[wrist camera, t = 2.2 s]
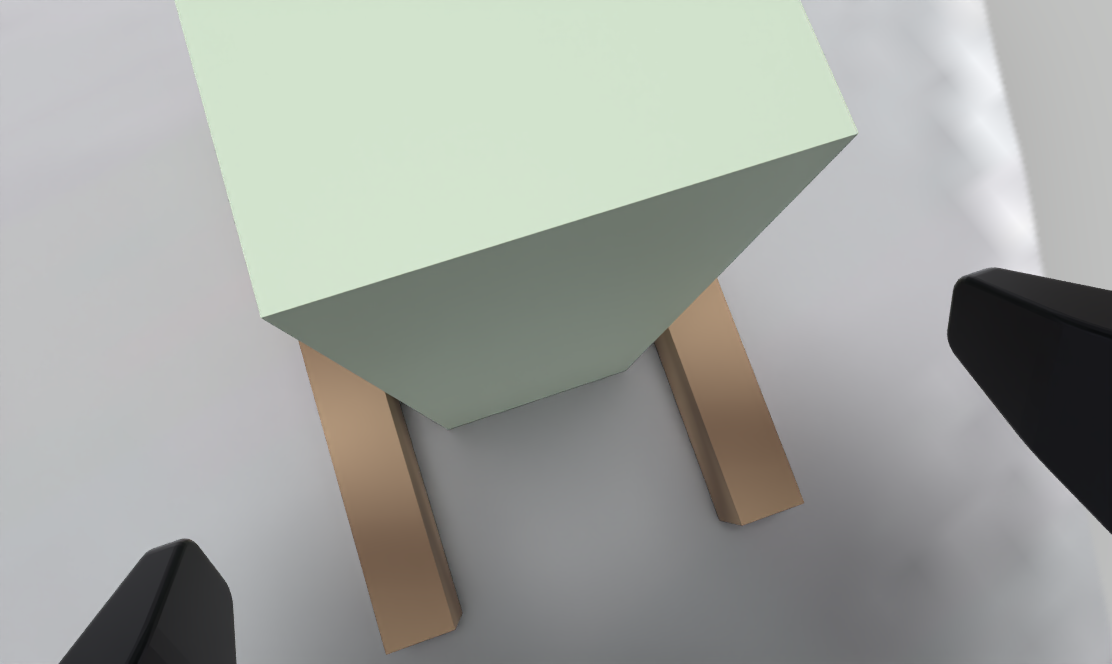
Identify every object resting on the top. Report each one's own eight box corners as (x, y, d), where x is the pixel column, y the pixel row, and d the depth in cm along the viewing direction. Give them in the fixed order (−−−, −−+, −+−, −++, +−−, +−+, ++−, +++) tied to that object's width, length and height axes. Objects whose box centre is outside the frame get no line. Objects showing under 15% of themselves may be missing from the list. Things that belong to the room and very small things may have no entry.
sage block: (625, 370, 20) (858, 133, 6) (448, 429, 19) (261, 317, 6) (565, 203, 21) (651, -337, 7) (394, 256, 20) (116, -216, 6)
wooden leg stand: (775, 500, 19) (812, 503, 17) (401, 635, 18) (382, 660, 16) (578, -18, 22) (584, -80, 19) (241, 74, 21) (204, 21, 18)
